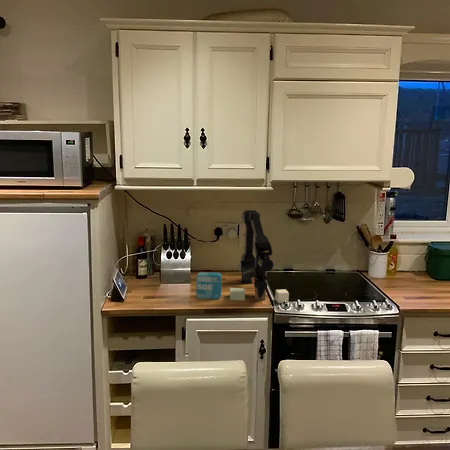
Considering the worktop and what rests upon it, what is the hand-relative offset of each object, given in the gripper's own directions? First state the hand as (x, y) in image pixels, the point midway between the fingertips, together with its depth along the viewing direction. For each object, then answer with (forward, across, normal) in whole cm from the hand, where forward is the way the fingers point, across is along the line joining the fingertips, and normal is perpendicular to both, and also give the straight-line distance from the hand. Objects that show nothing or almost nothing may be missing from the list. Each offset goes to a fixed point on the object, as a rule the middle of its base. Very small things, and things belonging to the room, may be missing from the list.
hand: (259, 295), depth 228 cm
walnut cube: (+1, 0, 0) cm, 1 cm away
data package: (+1, +2, -25) cm, 25 cm away
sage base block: (+1, +1, -11) cm, 11 cm away
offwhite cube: (+1, +3, +10) cm, 11 cm away
